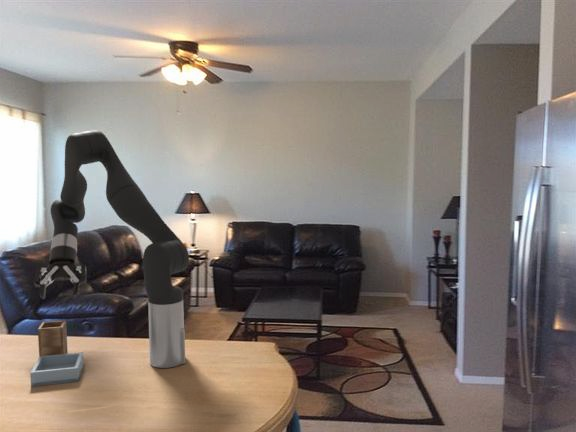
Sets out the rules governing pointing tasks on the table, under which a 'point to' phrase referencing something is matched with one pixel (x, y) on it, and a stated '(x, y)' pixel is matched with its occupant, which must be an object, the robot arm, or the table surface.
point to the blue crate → (57, 369)
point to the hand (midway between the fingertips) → (58, 296)
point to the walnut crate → (52, 338)
